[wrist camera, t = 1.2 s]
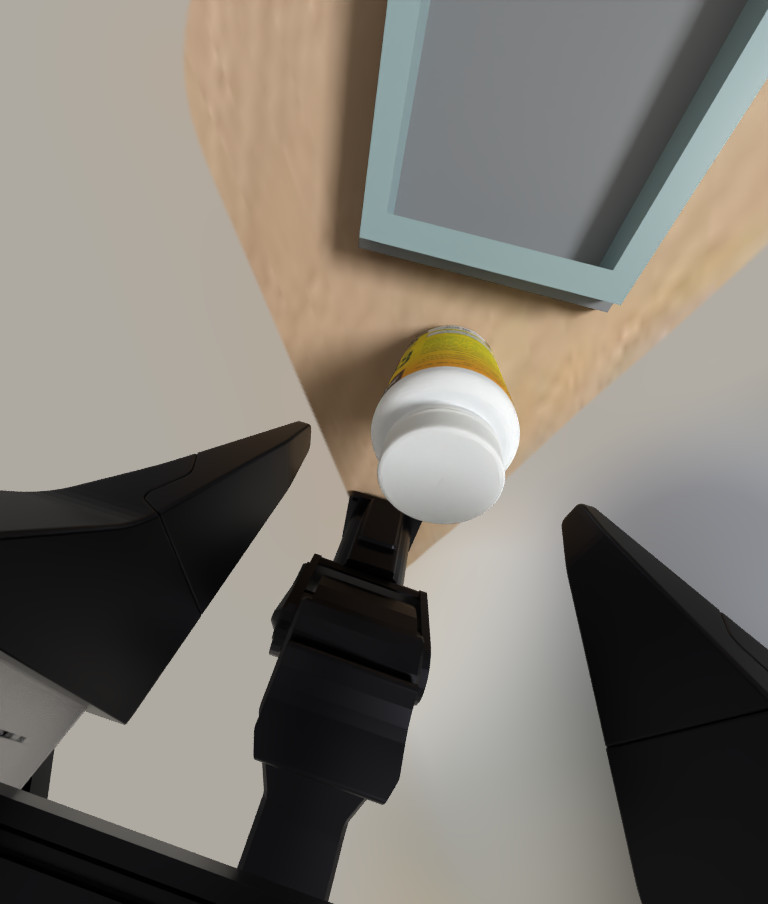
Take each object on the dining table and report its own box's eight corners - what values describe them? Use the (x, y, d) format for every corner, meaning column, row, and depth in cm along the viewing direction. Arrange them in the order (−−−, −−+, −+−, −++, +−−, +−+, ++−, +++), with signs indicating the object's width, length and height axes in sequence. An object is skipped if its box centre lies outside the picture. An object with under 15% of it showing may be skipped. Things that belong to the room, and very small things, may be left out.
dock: (598, 309, 14) (623, 318, 12) (363, 247, 14) (349, 246, 12) (936, -247, 7) (1151, -472, 4) (439, -332, 7) (434, -567, 5)
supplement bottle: (409, 313, 15) (361, 377, 7) (510, 334, 15) (580, 427, 7) (393, 403, 19) (346, 518, 11) (475, 422, 18) (493, 557, 10)
